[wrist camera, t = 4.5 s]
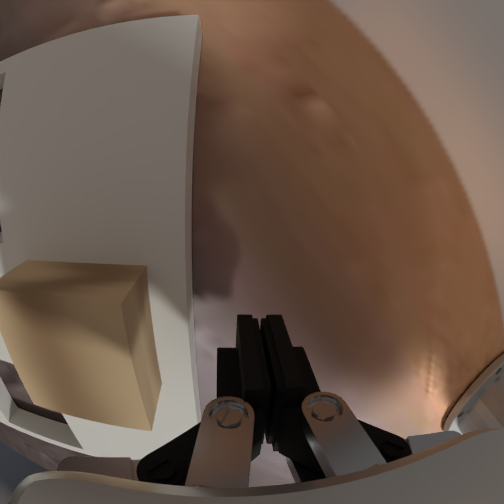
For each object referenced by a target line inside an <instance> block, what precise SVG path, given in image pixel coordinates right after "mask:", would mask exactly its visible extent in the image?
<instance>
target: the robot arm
mask: <svg viewBox="0 0 504 504" xmlns="http://www.w3.org/2000/svg"><path fill="white" fill-rule="evenodd" d="M443 431H444V432H438V433H431V434H424V435H416V436H408V437H407V439H403V438H401V437H399V436H397V435H395V434H392V433H390V432H387V431H384V430H382V429H379V428H377V427H375V426H372V425H370V424H367V423H365V422H363V421H360V420H358V419H357V418H356V417H355V415H354V414H353V412H352V411H351V409H350V408H349V406H348V405H347V404H346V402H345V401H344V400H343V399H342V398H341V397H339V396H338V395H336V394H333V393H330V392H321V391H320V389H319V386H318V384H317V381H316V378H315V376H314V373H313V371H312V368H311V366H310V363H309V361H308V358H307V355H306V353H305V350H304V348H303V347H292V344H291V341H290V338H289V335H288V332H287V329H286V326H285V323H284V320H283V318H282V315H267V316H266V318H262V319H261V325H260V329H259V324H258V319H257V318H252V315H237V332H236V348H217V398H216V399H214V400H212V401H211V402H209V403H208V404H207V405H206V407H205V409H204V412H203V416H202V420H201V422H199V423H198V424H196V425H195V426H193V427H192V428H190V429H189V430H187V431H186V432H184V433H182V434H181V435H179V436H178V437H176V438H174V439H173V440H171V441H170V442H168V443H166V444H165V445H163V446H161V447H160V448H158V449H156V450H154V451H153V452H151V453H149V454H147V455H146V456H145V457H143V458H142V459H141V460H131V458H130V457H89V456H68V457H66V458H64V459H62V460H61V461H60V463H59V464H58V467H57V471H48V472H41V473H36V474H33V475H30V476H28V477H26V478H25V479H24V480H23V481H22V482H21V483H20V484H19V485H18V487H17V488H16V489H15V491H14V493H13V495H12V497H11V499H10V501H9V503H8V504H504V353H503V354H502V355H501V356H500V357H498V358H497V359H496V360H495V361H494V362H493V363H492V364H491V365H490V366H489V367H488V368H487V369H486V370H485V371H484V372H483V373H482V374H481V375H480V376H479V377H478V378H477V379H476V380H475V381H474V383H473V384H472V385H471V386H470V387H469V388H468V389H467V391H466V392H465V393H464V394H463V396H462V397H461V398H460V399H459V401H458V402H457V403H456V405H455V406H454V408H453V409H452V411H451V412H450V414H449V416H448V417H447V419H446V422H445V424H444V429H443ZM264 434H265V436H266V442H267V444H272V446H273V451H279V453H281V454H282V455H284V456H286V457H287V458H286V459H287V464H288V466H289V469H290V471H291V473H292V476H293V478H294V480H295V483H293V484H284V485H274V486H261V487H249V476H250V465H251V461H252V460H254V459H255V458H256V457H257V456H258V455H259V454H260V450H261V444H263V440H264Z"/></svg>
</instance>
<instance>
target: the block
mask: <svg viewBox="0 0 504 504" xmlns="http://www.w3.org/2000/svg"><path fill="white" fill-rule="evenodd" d="M0 332H1V335H2V337H3V340H4V342H5V345H6V347H7V350H8V352H9V354H10V357H11V359H12V361H13V364H14V366H15V368H16V370H17V372H18V374H19V376H20V378H21V380H22V382H23V384H24V386H25V388H26V390H27V392H28V394H29V396H30V398H31V399H32V401H33V403H34V405H37V406H40V407H43V408H46V409H49V410H53V411H56V412H59V413H63V414H66V415H70V416H74V417H78V418H82V419H86V420H90V421H95V422H99V423H104V424H109V425H114V426H120V427H125V428H132V429H138V430H145V431H152V428H153V423H154V418H155V413H156V408H157V404H158V399H159V394H160V390H161V386H162V380H161V375H160V369H159V364H158V358H157V352H156V345H155V338H154V331H153V324H152V316H151V308H150V299H149V289H148V278H147V266H145V265H119V264H96V263H74V262H55V261H36V260H26V261H24V262H23V263H21V264H20V265H18V266H17V267H15V268H14V269H12V270H11V271H9V272H8V273H6V274H5V275H3V276H2V277H1V278H0Z"/></svg>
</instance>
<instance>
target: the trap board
mask: <svg viewBox="0 0 504 504" xmlns="http://www.w3.org/2000/svg"><path fill="white" fill-rule="evenodd" d="M202 36H203V34H202V29H201V24H200V19H199V15H180V16H167V17H157V18H148V19H140V20H134V21H127V22H122V23H116V24H111V25H106V26H102V27H97V28H93V29H89V30H85V31H81V32H78V33H74V34H71V35H67V36H64V37H61V38H58V39H55V40H52V41H49V42H46V43H43V44H40V45H38V46H35V47H32V48H30V49H27V50H25V51H23V52H20V53H18V54H16V55H13V56H11V57H9V58H7V59H5V60H3V61H0V89H2V88H3V91H2V98H1V106H0V223H1V231H2V232H0V278H1V277H2V276H3V275H5V274H6V273H8V272H9V271H11V270H12V269H14V268H15V267H17V266H18V265H20V264H21V263H23V262H24V261H26V260H36V261H55V262H74V263H96V264H119V265H145V266H147V278H148V289H149V299H150V308H151V316H152V324H153V331H154V338H155V345H156V352H157V358H158V364H159V369H160V375H161V380H162V386H161V390H160V394H159V399H158V404H157V408H156V413H155V418H154V423H153V428H152V431H145V430H138V429H132V428H125V427H120V426H114V425H109V424H104V423H99V422H95V421H90V420H86V419H82V418H78V417H74V416H70V415H66V414H63V413H62V414H63V416H64V418H65V420H66V422H67V423H68V425H67V424H64V423H60V422H57V421H54V420H51V419H48V418H45V417H42V416H39V415H36V414H33V413H31V412H28V411H25V410H23V409H20V408H18V407H17V406H16V404H15V403H14V401H13V399H12V397H11V396H10V394H9V392H8V390H7V389H6V387H5V385H4V383H3V381H2V379H1V377H0V422H2V423H4V424H6V425H8V426H10V427H12V428H15V429H17V430H19V431H21V432H24V433H26V434H29V435H31V436H33V437H36V438H39V439H41V440H44V441H46V442H49V443H52V444H55V445H58V446H61V447H64V448H67V449H70V450H73V451H77V452H80V453H84V454H87V455H91V456H95V457H130V458H131V460H141V459H142V458H143V457H145V456H146V455H147V454H149V453H151V452H153V451H154V450H156V449H158V448H160V447H161V446H163V445H165V444H166V443H168V442H170V441H171V440H173V439H174V438H176V437H178V436H179V435H181V434H182V433H184V432H186V431H187V430H189V429H190V428H192V427H193V426H195V425H196V424H198V423H199V422H201V411H200V401H199V391H198V379H197V366H196V352H195V335H194V316H193V290H192V172H193V146H194V127H195V111H196V98H197V85H198V74H199V63H200V54H201V45H202ZM0 360H3V361H6V362H9V363H12V364H13V361H12V359H11V357H10V354H9V352H8V350H7V347H6V345H5V342H4V340H3V337H2V335H1V332H0Z"/></svg>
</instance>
